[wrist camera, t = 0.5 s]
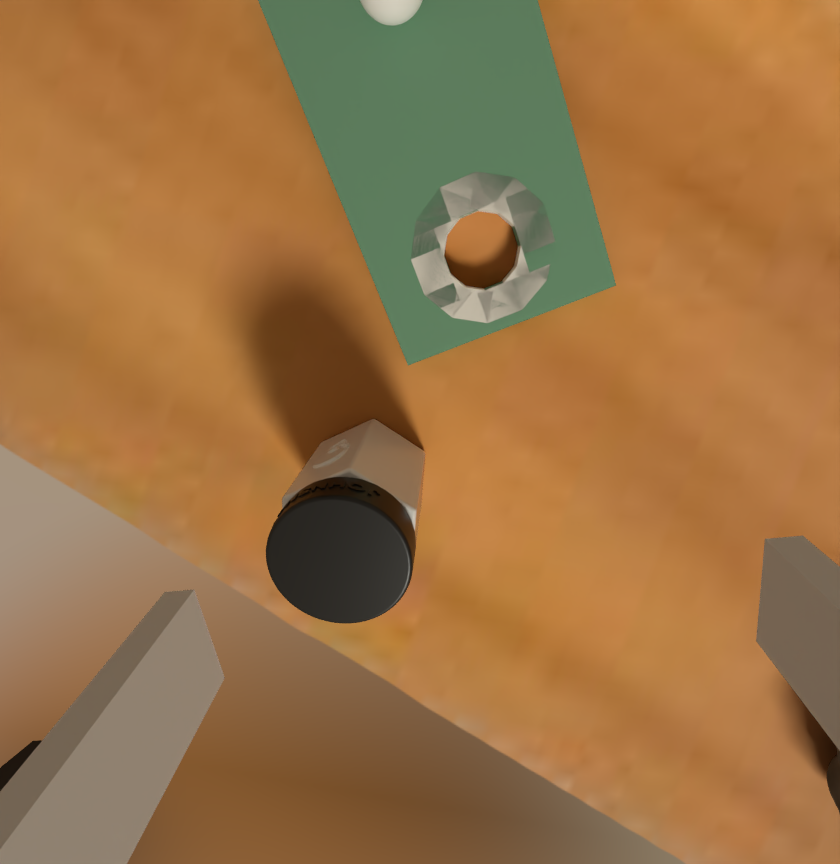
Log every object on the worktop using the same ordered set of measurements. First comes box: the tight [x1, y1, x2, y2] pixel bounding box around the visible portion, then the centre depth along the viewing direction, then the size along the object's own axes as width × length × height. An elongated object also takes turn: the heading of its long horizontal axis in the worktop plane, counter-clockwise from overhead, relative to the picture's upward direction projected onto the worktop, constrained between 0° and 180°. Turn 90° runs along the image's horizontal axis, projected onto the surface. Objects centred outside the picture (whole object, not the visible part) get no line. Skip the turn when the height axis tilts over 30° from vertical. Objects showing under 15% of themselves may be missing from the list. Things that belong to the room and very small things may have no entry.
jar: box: [266, 419, 425, 623], centre depth 34 cm, size 9×8×12 cm
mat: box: [258, 0, 616, 365], centre depth 31 cm, size 24×14×2 cm, turn 22°
